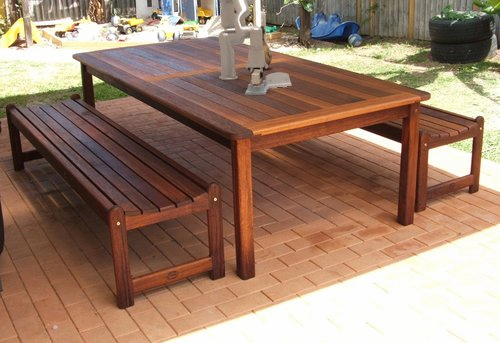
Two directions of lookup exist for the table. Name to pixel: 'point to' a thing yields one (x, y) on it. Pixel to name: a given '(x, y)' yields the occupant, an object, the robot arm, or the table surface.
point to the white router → (277, 80)
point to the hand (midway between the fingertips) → (256, 78)
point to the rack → (256, 89)
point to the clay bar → (256, 77)
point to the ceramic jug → (265, 50)
